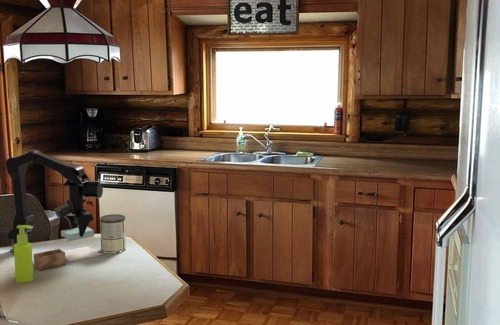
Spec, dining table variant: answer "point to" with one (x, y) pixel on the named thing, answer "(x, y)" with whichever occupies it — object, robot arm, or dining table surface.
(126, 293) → the dining table surface
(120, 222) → the coffee can
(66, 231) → the lid
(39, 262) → the wooden box
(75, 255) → the mat
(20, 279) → the soap dispenser
